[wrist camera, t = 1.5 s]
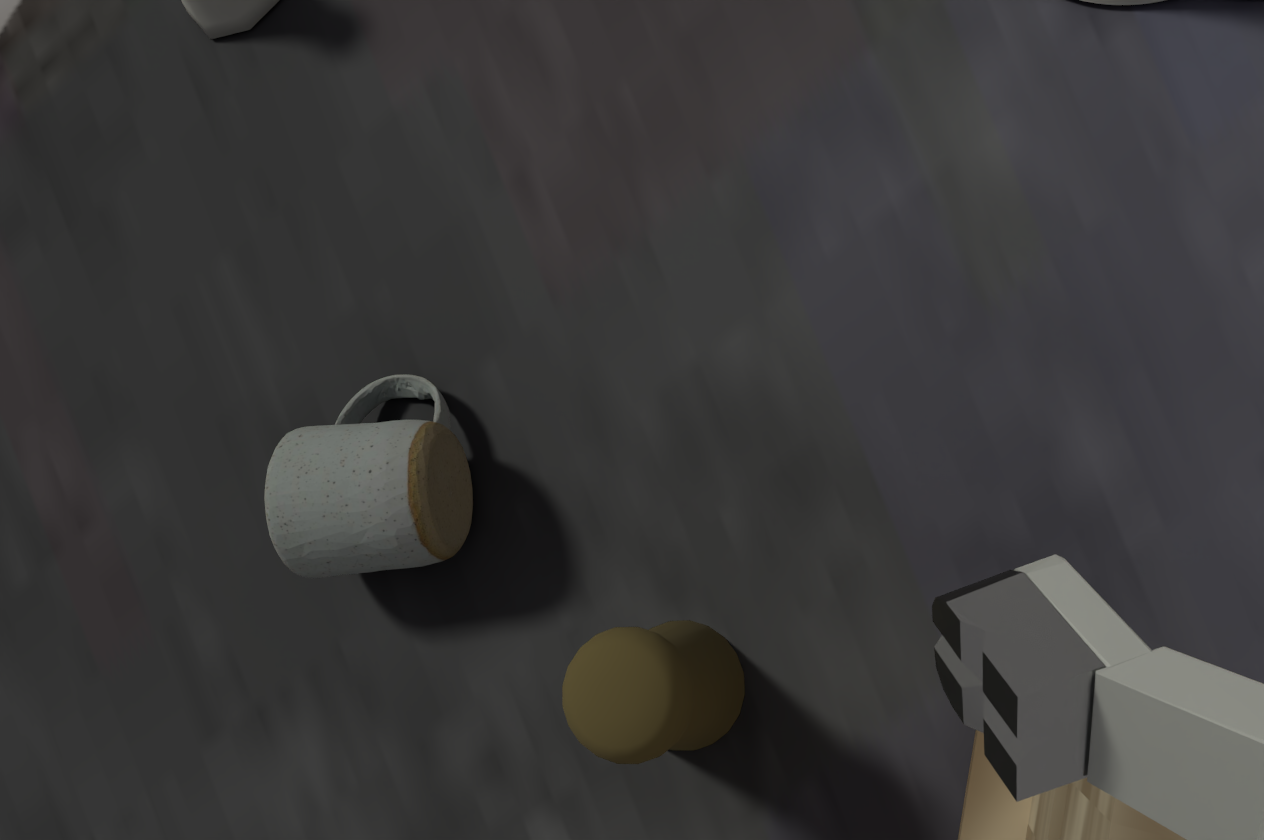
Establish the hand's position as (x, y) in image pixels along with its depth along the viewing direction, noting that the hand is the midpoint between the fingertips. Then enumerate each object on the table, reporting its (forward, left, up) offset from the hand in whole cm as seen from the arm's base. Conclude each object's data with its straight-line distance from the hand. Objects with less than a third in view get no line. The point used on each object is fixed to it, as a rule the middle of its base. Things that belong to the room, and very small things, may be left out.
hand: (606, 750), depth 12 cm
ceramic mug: (+13, -22, -38) cm, 46 cm away
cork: (+7, -4, -38) cm, 39 cm away
